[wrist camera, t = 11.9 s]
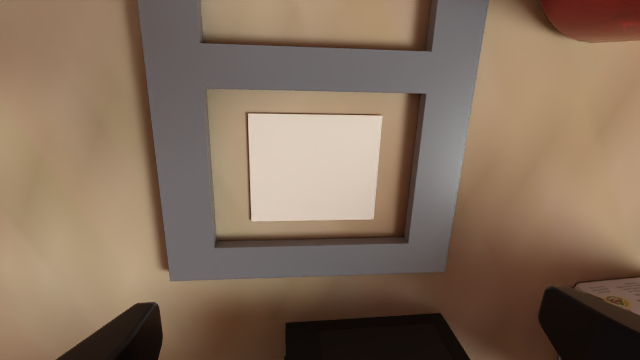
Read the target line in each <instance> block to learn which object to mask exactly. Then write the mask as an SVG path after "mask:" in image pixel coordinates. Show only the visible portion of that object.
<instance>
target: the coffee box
mask: <svg viewBox="0 0 640 360" xmlns="http://www.w3.org/2000/svg"><path fill="white" fill-rule="evenodd" d="M574 289H575V290H578V291H580V292H583V293H585V294H588V295H590V296H593V297H595V298H598V299H600V300H603V301H605V302H608V303H611V304H613V305H616V306H618V307H621V308H623V309H626V310H628V311H631V312H633V313H636V314H638V315H640V277H637V278H628V279H617V280H606V281H596V282H586V283H578V284H577V285H576V286H575V287H574ZM558 360H561V358H560V356H559V358H558Z"/></svg>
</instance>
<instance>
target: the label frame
mask: <svg viewBox="0 0 640 360" xmlns="http://www.w3.org/2000/svg"><path fill="white" fill-rule="evenodd" d="M488 2H489V0H431V9H430V18H429V26H428V35H427V43H426V51H402V50H374V49H347V48H319V47H292V46H264V45H237V44H209V43H203V34H202V19H201V4H200V0H137V3H138V11H139V20H140V28H141V37H142V45H143V54H144V62H145V71H146V79H147V88H148V96H149V105H150V113H151V122H152V130H153V139H154V147H155V155H156V164H157V172H158V181H159V189H160V198H161V206H162V215H163V223H164V232H165V240H166V249H167V257H168V266H169V274H170V281H191V280H220V279H250V278H280V277H310V276H340V275H370V274H399V273H429V272H445V267H446V261H447V255H448V249H449V243H450V236H451V230H452V224H453V218H454V212H455V206H456V199H457V193H458V187H459V181H460V175H461V169H462V162H463V156H464V150H465V144H466V138H467V132H468V125H469V119H470V113H471V107H472V101H473V95H474V88H475V82H476V76H477V70H478V64H479V58H480V51H481V45H482V39H483V33H484V27H485V21H486V14H487V8H488ZM206 88H207V89H250V90H294V91H337V92H381V93H421V95H420V104H419V112H418V121H417V129H416V138H415V146H414V155H413V164H412V172H411V181H410V189H409V198H408V207H407V215H406V224H405V232H404V237H384V238H339V239H294V240H249V241H217V240H216V226H215V211H214V196H213V181H212V167H211V152H210V137H209V122H208V108H207V93H206ZM381 125H382V115H321V114H258V113H248V131H249V161H250V192H251V221H302V220H363V219H374V207H375V196H376V184H377V172H378V160H379V149H380V137H381Z"/></svg>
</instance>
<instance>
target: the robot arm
mask: <svg viewBox="0 0 640 360" xmlns="http://www.w3.org/2000/svg"><path fill="white" fill-rule="evenodd" d="M538 318H539V322H540V325H541V327H542V328H543V330H544V332H545V333H546V335H547V337H548V338H549V340H550V342H551V343H552V345H553V347H554V348H555V350H556V351H557V353H558V355H559V356H560V358H561V360H640V315H638V314H636V313H633V312H631V311H628V310H626V309H623V308H621V307H618V306H616V305H613V304H611V303H608V302H605V301H603V300H600V299H598V298H595V297H593V296H590V295H588V294H585V293H583V292H580V291H578V290H575V289H573V288H570V287H568V286H550V287H547V288H546V290H545V292H544V295H543V299H542V302H541V306H540V310H539V314H538ZM162 339H163V333H162V325H161V318H160V310H159V306H158V304H157V303H155V302H148V303H137V304H135V305H133V306H132V307H130V308H129V309H127V310H126V311H125V312H123V313H122V314H120V315H119V316H117V317H116V318H115V319H113V320H112V321H110V322H109V323H107V324H106V325H105V326H103V327H102V328H100V329H99V330H97V331H96V332H95V333H93V334H92V335H90V336H89V337H87V338H86V339H85V340H83V341H82V342H80V343H79V344H77V345H76V346H75V347H73V348H72V349H70V350H69V351H67V352H66V353H65V354H63V355H62V356H60V357H59V358H57V359H56V360H158V357H159V353H160V350H161V346H162Z"/></svg>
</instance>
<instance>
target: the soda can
mask: <svg viewBox="0 0 640 360" xmlns="http://www.w3.org/2000/svg"><path fill="white" fill-rule="evenodd" d="M540 2H541V6H542V8H543V10H544V12H545V14H546V16H547V18H548V20H549V21H550V22H551V23H552V24H553V26H554V27H555V28H556V29H557V30H559V31H560V32H561V33H563V34H564V35H565V36H567V37H569V38H572V39H574V40H577V41H582V42H589V43H600V42H618V41H636V40H640V0H540Z"/></svg>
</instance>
